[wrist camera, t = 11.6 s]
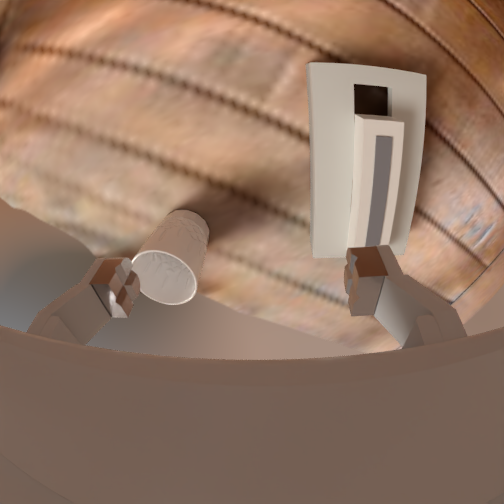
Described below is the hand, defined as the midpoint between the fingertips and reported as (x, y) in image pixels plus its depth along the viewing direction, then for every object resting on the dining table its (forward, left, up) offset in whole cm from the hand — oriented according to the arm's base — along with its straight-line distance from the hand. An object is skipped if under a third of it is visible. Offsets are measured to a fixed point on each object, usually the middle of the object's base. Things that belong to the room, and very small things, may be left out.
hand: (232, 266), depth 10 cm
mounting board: (+3, +11, -24) cm, 26 cm away
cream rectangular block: (+6, +11, -22) cm, 25 cm away
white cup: (+12, -11, -24) cm, 29 cm away
